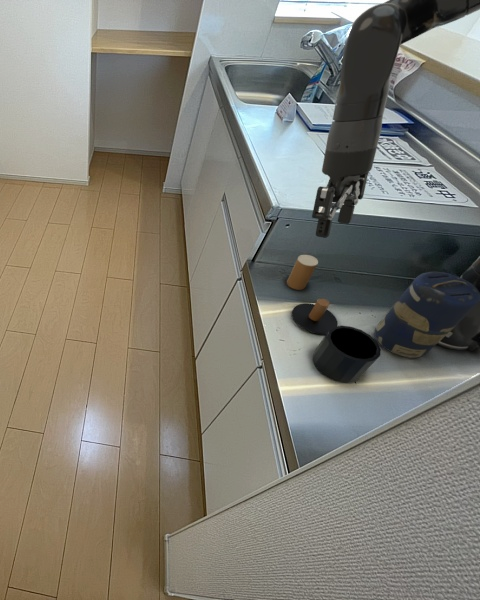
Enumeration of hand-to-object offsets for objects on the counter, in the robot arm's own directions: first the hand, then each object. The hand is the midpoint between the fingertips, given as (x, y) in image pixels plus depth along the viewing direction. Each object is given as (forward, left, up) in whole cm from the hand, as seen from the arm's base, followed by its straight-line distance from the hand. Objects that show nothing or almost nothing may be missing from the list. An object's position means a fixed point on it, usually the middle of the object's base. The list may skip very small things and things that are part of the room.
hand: (333, 229), depth 71 cm
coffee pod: (+1, -8, -21) cm, 23 cm away
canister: (-21, +2, -22) cm, 30 cm away
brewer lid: (-5, +4, -21) cm, 22 cm away
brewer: (-11, +15, -21) cm, 28 cm away
